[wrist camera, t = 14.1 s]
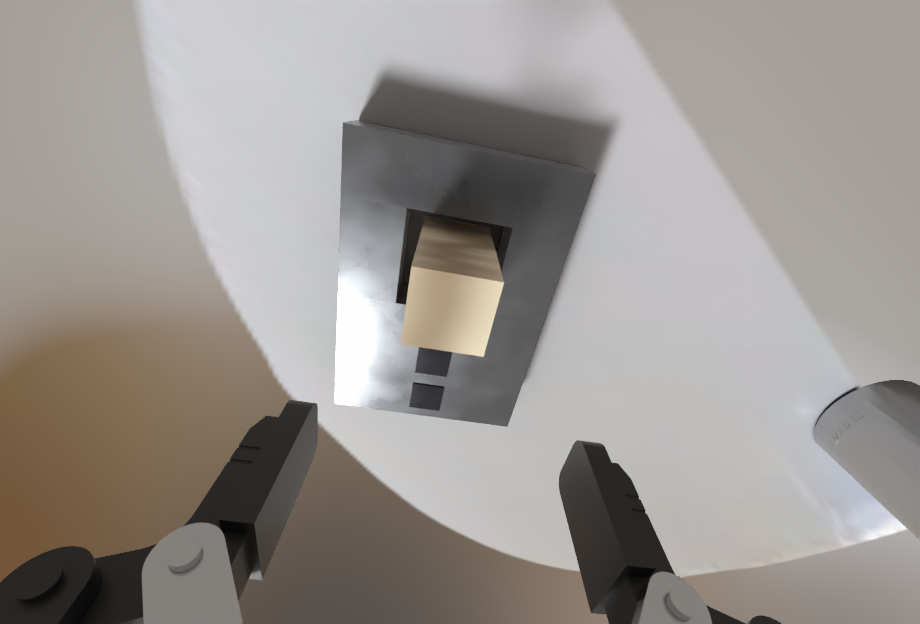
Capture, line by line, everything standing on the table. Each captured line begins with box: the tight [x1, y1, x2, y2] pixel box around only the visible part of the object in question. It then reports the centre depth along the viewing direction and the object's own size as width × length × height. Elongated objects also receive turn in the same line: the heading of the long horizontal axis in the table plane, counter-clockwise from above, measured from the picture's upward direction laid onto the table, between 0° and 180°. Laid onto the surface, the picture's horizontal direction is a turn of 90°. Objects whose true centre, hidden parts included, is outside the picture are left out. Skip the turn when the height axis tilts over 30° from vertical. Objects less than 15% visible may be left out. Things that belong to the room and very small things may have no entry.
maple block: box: [401, 215, 504, 357], centre depth 22 cm, size 4×4×9 cm
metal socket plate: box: [335, 120, 595, 426], centre depth 26 cm, size 14×20×3 cm
